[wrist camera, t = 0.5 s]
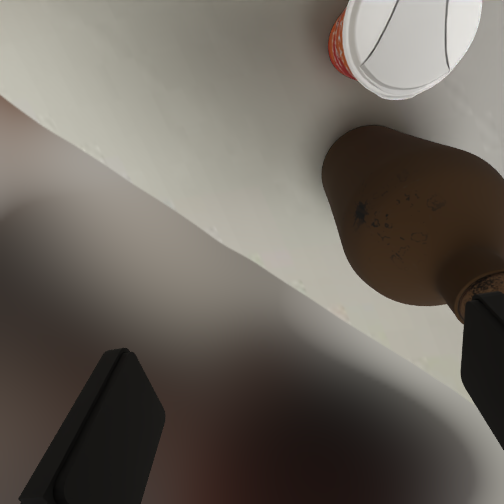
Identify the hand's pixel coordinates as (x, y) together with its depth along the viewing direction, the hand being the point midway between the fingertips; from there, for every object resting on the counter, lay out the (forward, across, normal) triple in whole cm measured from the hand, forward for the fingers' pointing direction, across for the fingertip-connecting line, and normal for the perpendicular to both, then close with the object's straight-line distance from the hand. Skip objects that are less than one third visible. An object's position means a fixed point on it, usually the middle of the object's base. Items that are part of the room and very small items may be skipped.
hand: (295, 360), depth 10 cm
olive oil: (+30, -9, +4) cm, 31 cm away
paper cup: (+30, -9, -8) cm, 32 cm away
